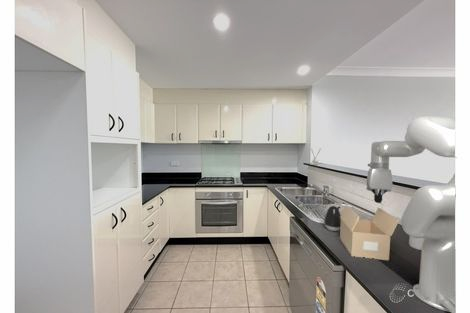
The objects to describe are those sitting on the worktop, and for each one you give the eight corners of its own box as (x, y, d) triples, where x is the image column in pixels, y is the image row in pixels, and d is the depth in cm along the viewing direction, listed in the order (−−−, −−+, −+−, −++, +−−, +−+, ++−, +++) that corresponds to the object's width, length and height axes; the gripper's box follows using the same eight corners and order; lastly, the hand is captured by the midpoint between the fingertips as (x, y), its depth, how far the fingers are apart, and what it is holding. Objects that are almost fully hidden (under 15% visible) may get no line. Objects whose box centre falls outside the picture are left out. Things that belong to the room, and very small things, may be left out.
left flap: (340, 217, 120) (339, 217, 120) (346, 205, 119) (345, 204, 119) (352, 231, 101) (351, 231, 101) (359, 217, 100) (358, 216, 100)
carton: (388, 260, 98) (390, 236, 97) (351, 256, 101) (352, 232, 101) (370, 241, 118) (371, 220, 117) (339, 238, 121) (340, 218, 120)
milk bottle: (421, 251, 106) (424, 213, 105) (405, 244, 114) (407, 208, 113) (432, 250, 109) (434, 212, 107) (415, 243, 116) (418, 207, 115)
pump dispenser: (345, 231, 130) (346, 207, 129) (333, 234, 126) (334, 209, 125) (332, 225, 140) (333, 203, 139) (320, 227, 136) (321, 204, 135)
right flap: (390, 235, 98) (391, 235, 97) (397, 220, 97) (399, 220, 96) (372, 220, 117) (373, 220, 117) (378, 207, 116) (379, 207, 116)
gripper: (366, 166, 103) (364, 203, 104) (400, 167, 100) (398, 205, 101) (360, 165, 111) (359, 199, 111) (392, 166, 108) (390, 201, 108)
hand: (378, 202), depth 106 cm, fingers closed
